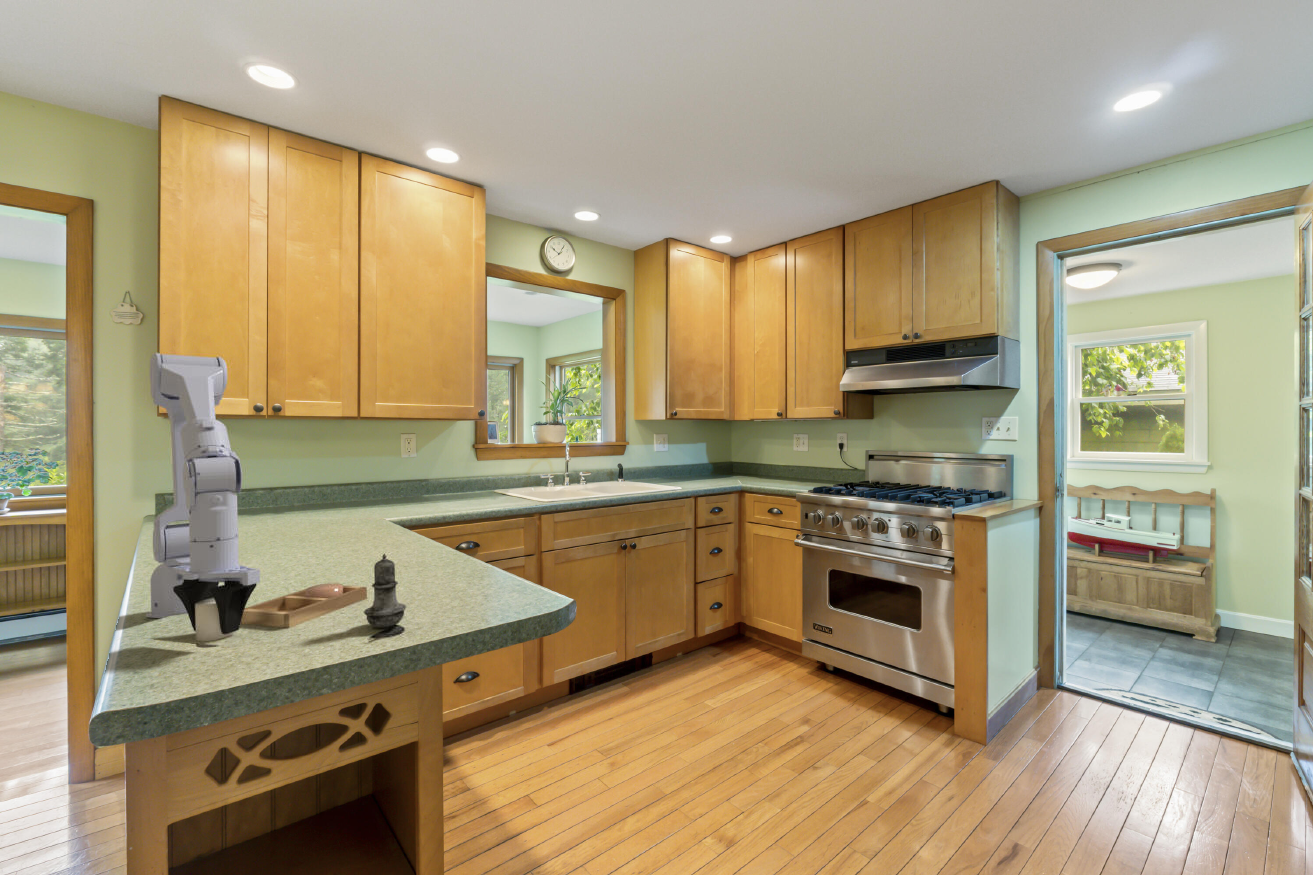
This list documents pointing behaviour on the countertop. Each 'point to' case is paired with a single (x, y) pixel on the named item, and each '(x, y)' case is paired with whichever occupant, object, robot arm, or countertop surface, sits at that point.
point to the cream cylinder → (208, 623)
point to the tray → (299, 607)
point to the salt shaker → (385, 601)
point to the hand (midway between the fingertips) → (216, 630)
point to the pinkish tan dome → (325, 590)
